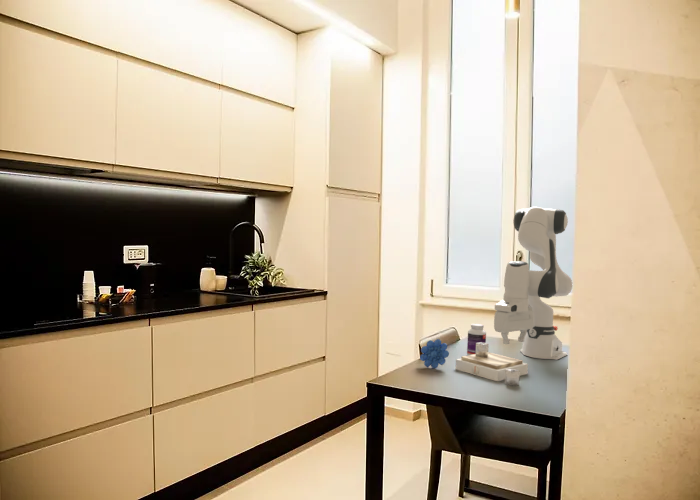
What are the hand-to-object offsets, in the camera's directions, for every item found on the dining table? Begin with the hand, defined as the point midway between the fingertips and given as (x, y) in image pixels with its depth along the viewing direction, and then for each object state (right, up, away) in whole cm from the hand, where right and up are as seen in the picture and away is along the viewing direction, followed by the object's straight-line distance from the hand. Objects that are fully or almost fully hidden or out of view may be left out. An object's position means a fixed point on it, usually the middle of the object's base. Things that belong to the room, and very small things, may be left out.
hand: (513, 342), depth 189 cm
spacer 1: (-6, -9, +21) cm, 24 cm away
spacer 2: (0, -15, +1) cm, 15 cm away
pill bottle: (-3, -14, +43) cm, 45 cm away
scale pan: (-3, -11, +17) cm, 21 cm away
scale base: (-3, -15, +17) cm, 23 cm away
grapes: (-26, -14, +20) cm, 36 cm away
